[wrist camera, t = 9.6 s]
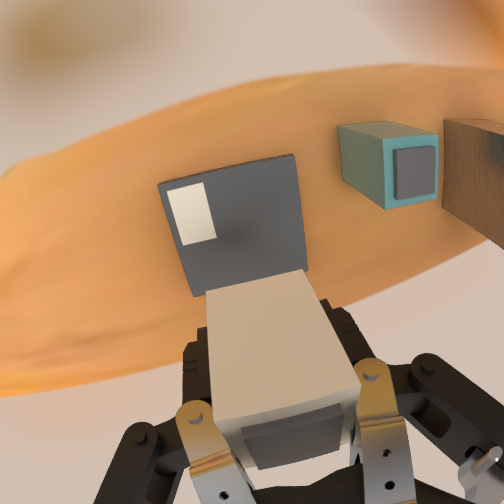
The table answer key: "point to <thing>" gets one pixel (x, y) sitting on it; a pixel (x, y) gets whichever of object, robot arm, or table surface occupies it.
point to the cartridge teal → (390, 162)
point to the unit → (475, 175)
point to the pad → (237, 223)
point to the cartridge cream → (278, 372)
